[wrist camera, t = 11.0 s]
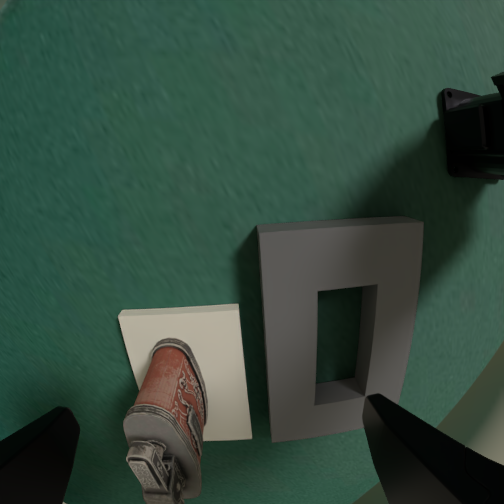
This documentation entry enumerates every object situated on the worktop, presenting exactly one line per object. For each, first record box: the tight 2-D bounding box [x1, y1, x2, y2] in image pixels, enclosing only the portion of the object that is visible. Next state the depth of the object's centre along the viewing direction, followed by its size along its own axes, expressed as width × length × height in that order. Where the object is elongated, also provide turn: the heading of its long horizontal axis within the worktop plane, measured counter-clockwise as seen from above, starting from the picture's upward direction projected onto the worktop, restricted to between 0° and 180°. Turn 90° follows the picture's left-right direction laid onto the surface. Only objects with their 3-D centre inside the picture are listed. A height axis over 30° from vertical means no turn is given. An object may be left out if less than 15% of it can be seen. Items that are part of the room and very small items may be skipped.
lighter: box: [123, 337, 208, 504], centre depth 16 cm, size 8×3×10 cm, turn 6°
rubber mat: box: [118, 304, 252, 441], centre depth 21 cm, size 8×12×1 cm, turn 4°
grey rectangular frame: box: [256, 216, 424, 443], centre depth 20 cm, size 10×16×2 cm, turn 4°
